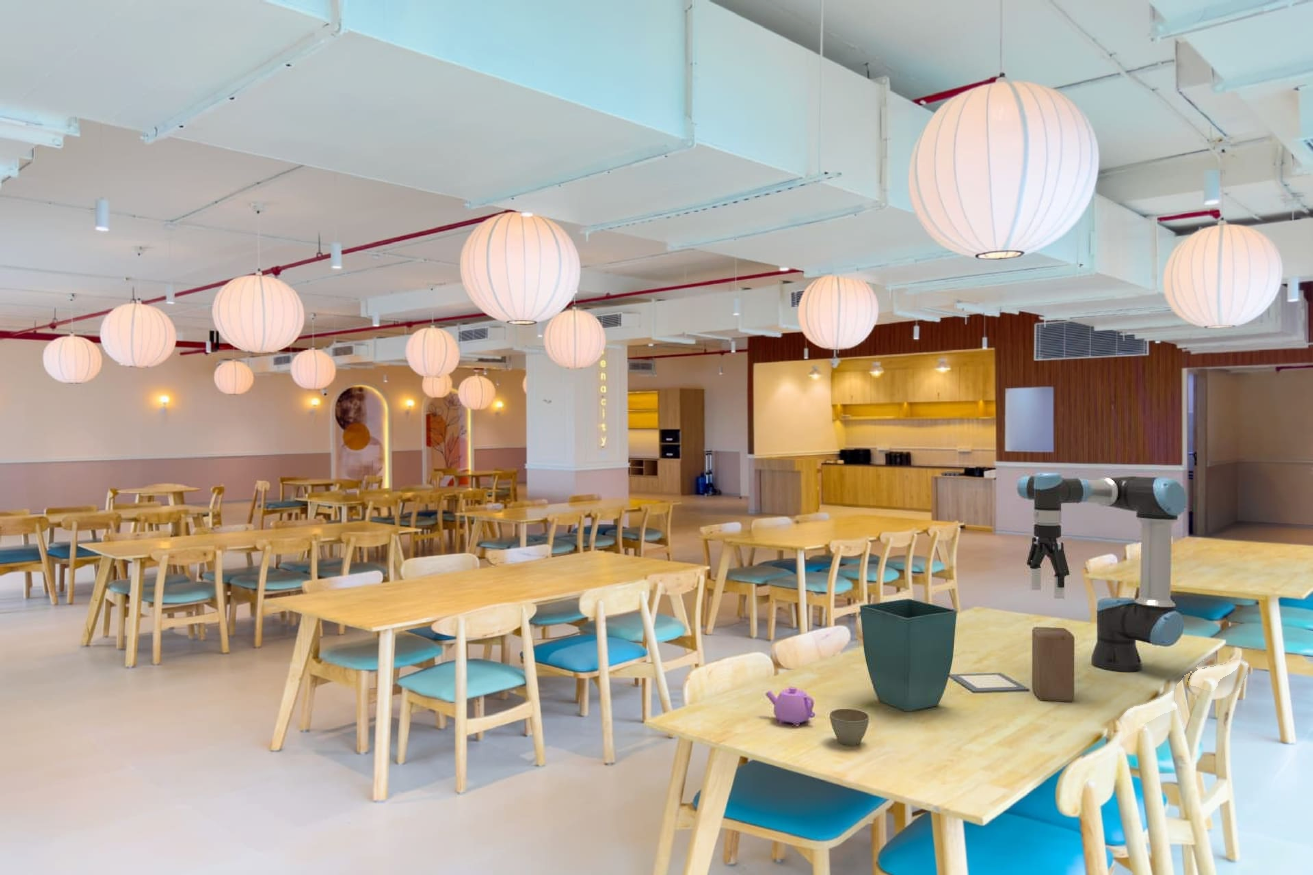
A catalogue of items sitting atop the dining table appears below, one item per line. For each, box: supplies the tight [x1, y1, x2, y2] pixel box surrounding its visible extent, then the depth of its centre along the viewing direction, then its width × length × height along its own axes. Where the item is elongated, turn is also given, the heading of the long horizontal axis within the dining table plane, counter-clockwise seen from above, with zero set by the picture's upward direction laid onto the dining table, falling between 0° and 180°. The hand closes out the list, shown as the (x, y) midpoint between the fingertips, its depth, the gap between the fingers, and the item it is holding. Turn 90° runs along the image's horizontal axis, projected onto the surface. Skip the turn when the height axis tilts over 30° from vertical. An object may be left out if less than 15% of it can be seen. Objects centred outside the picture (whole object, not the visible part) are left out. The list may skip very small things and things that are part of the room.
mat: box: [949, 672, 1031, 694], centre depth 275 cm, size 18×18×1 cm
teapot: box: [765, 686, 816, 726], centre depth 240 cm, size 10×15×9 cm
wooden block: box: [1031, 626, 1075, 703], centre depth 261 cm, size 10×10×20 cm
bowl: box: [829, 708, 870, 746], centre depth 224 cm, size 10×10×7 cm
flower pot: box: [859, 598, 958, 712], centre depth 255 cm, size 20×20×28 cm
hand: (1047, 594), depth 263 cm, fingers open, 13 cm apart
